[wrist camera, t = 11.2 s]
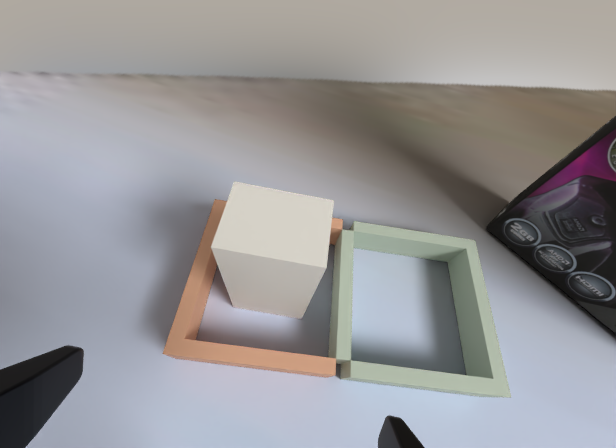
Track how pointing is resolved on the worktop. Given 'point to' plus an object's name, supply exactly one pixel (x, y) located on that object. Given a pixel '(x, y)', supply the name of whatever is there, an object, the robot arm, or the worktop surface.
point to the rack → (466, 292)
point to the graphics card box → (571, 224)
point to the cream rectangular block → (272, 248)
